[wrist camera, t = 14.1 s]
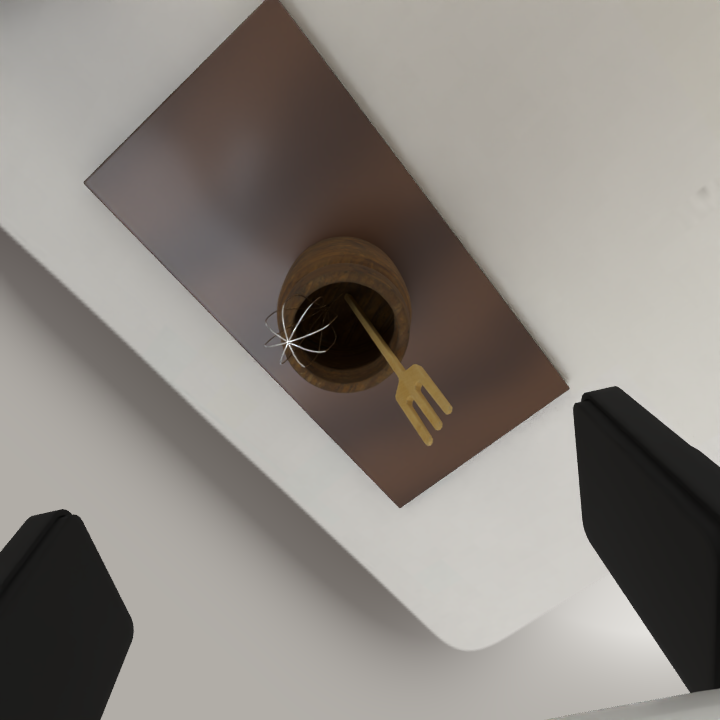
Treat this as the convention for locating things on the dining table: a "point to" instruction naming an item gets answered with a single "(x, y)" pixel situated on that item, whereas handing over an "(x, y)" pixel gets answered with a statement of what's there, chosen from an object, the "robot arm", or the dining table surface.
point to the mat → (311, 225)
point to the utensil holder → (352, 325)
